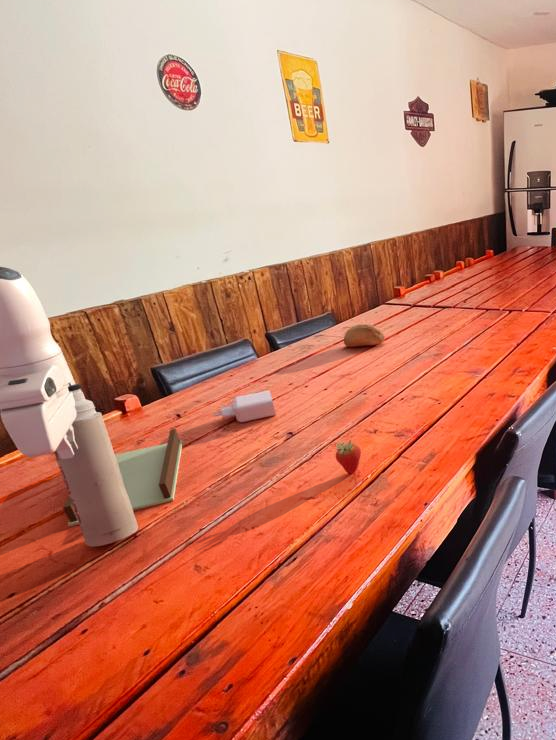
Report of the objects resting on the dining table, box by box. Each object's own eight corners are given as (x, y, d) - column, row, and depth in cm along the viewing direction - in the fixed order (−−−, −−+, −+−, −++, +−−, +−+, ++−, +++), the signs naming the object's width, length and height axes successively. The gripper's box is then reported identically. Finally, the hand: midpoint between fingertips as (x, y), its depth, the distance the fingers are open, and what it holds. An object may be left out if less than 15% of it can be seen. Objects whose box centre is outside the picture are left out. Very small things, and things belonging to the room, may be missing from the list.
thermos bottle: (81, 551, 88) (24, 393, 81) (92, 534, 95) (40, 388, 88) (134, 536, 91) (84, 384, 84) (141, 521, 98) (95, 379, 91)
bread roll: (384, 347, 187) (381, 326, 183) (343, 351, 185) (339, 330, 182) (385, 339, 196) (382, 319, 192) (345, 343, 194) (342, 322, 190)
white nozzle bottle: (215, 416, 140) (273, 404, 146) (216, 429, 132) (276, 416, 138) (210, 400, 138) (269, 388, 143) (211, 413, 130) (272, 400, 136)
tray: (68, 527, 98) (59, 509, 96) (98, 460, 121) (91, 445, 119) (173, 500, 104) (167, 483, 102) (182, 442, 127) (177, 427, 125)
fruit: (335, 472, 111) (328, 440, 107) (357, 463, 114) (351, 431, 110) (346, 481, 107) (339, 448, 104) (368, 471, 110) (363, 439, 107)
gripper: (30, 359, 85) (64, 432, 91) (-19, 404, 68) (27, 490, 74) (75, 353, 87) (105, 424, 93) (39, 395, 70) (78, 479, 76)
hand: (70, 454), depth 84 cm, fingers closed
